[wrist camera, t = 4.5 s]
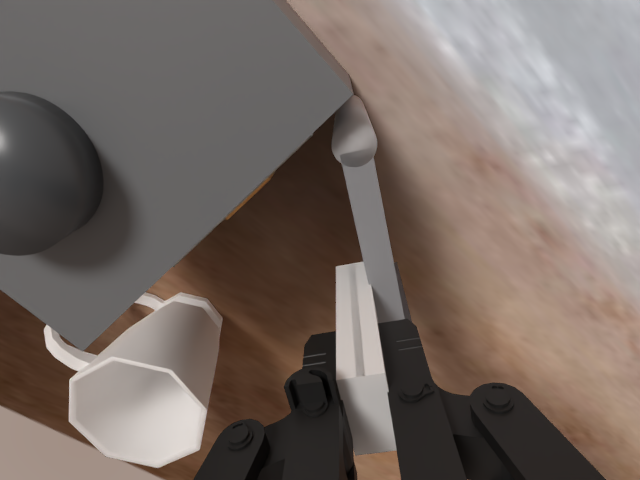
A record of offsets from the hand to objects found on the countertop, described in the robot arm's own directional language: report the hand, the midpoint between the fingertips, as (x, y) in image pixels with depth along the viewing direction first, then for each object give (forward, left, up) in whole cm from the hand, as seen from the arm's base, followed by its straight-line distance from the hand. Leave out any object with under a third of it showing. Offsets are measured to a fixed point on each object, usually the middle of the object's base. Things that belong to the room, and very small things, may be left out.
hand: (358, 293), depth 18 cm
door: (-1, +2, -7) cm, 7 cm away
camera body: (-10, -2, -8) cm, 13 cm away
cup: (-3, -13, -8) cm, 16 cm away
